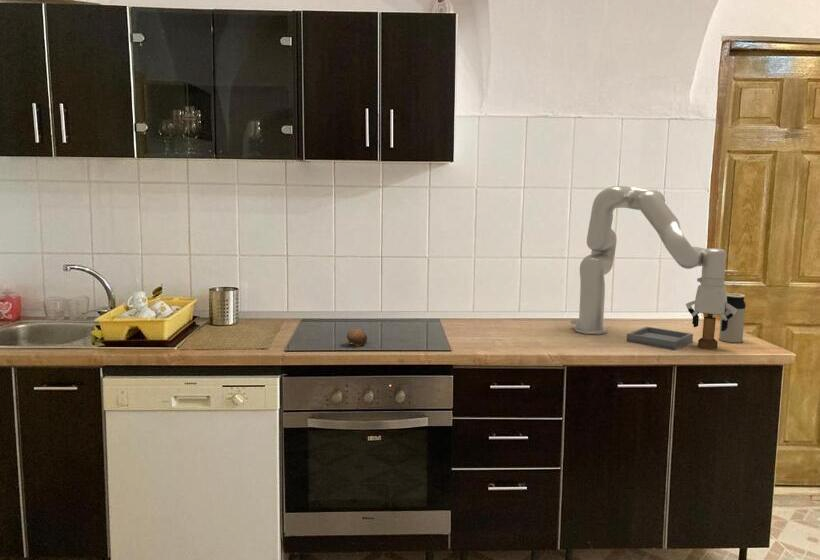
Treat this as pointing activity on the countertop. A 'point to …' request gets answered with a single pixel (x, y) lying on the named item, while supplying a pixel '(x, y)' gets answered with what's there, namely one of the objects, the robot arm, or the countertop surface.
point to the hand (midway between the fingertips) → (709, 328)
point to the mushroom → (357, 337)
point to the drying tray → (660, 338)
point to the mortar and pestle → (708, 333)
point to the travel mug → (734, 319)
